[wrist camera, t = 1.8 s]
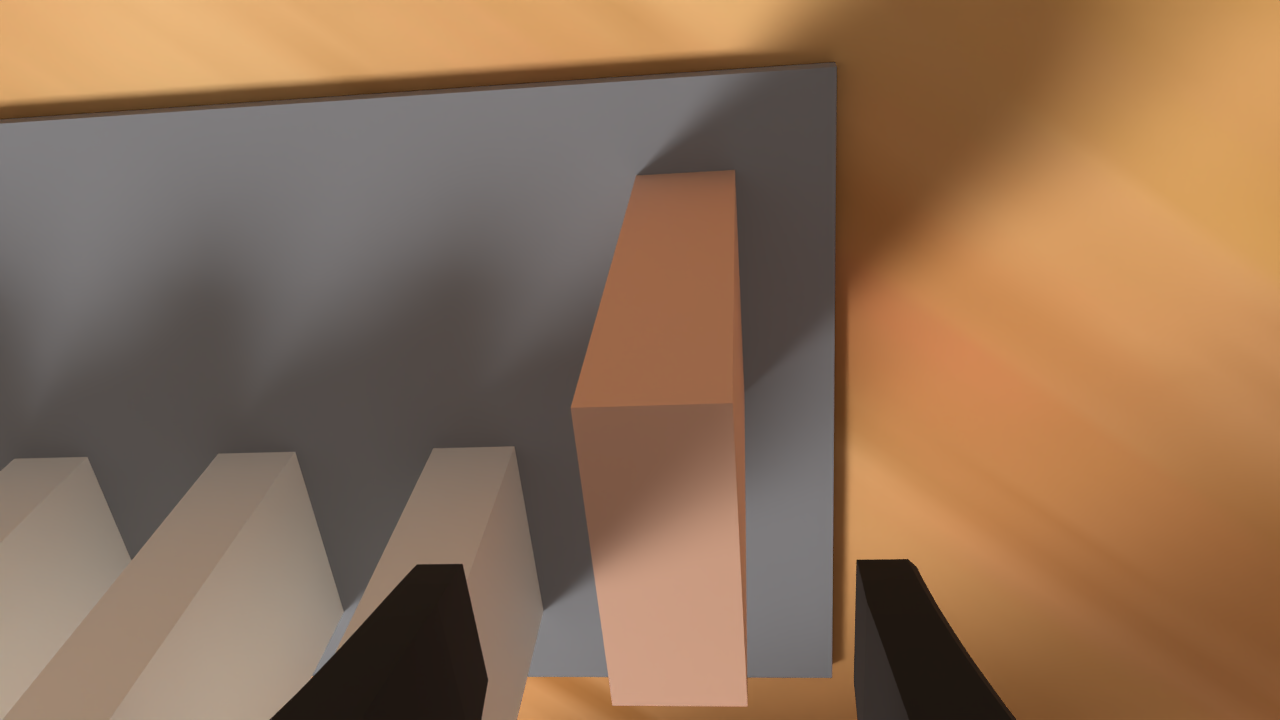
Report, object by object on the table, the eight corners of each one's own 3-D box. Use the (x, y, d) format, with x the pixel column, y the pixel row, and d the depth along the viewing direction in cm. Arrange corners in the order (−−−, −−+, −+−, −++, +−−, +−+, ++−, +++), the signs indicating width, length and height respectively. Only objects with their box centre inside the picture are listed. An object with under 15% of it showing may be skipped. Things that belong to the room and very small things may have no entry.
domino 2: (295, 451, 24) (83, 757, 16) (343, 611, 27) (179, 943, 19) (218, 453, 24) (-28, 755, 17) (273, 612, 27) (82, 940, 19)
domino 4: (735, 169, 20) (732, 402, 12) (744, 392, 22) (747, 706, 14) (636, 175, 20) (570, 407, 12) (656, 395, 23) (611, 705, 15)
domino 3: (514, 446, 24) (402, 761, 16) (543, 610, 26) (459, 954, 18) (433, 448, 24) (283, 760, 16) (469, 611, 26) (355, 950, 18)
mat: (834, 62, 19) (837, 66, 19) (830, 666, 27) (831, 677, 26) (-536, 155, 23) (-556, 161, 22) (-196, 663, 30) (-207, 673, 30)
